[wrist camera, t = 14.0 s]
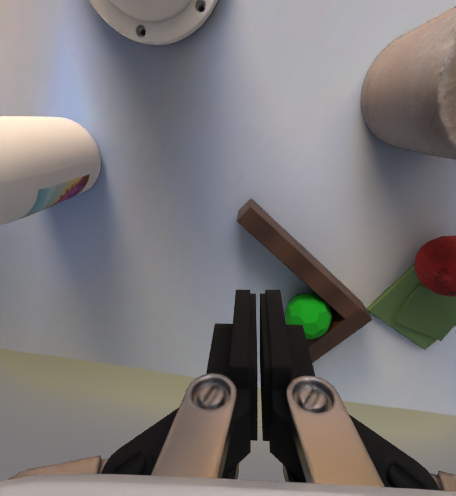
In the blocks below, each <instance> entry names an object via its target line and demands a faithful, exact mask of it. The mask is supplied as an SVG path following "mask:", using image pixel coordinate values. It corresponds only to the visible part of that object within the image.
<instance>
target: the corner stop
mask: <svg viewBox="0 0 456 496" xmlns="http://www.w3.org/2000/svg"><path fill="white" fill-rule="evenodd" d="M237 222H238V223H239V224H241V225H242V226H243V227H244V228H245V229H246V230H247V231H248V232H249V233H251V234H252V235H253V236H254V237H255V238H256V239H257V240H258V241H259V242H260V243H262V244H263V245H264V246H265V247H266V248H267V249H268V250H269V251H270V252H272V253H273V254H274V255H275V256H276V257H277V258H278V259H279V260H280V261H282V262H283V263H284V264H285V265H286V266H287V267H288V268H289V269H290V270H291V271H293V272H294V273H295V274H296V275H297V276H298V277H299V278H300V279H301V280H303V281H304V282H305V283H306V284H307V285H308V286H309V287H310V288H311V289H312V290H314V291H315V292H316V293H317V294H318V295H319V296H320V297H321V298H322V299H324V300H325V301H326V302H327V303H328V304H329V305H330V306H331V308H330V311H331V314H332V319H331V323H330V326H329V328H328V331H327V332H326V333H324V334H323V335H322V336H321V337H318V338H314V339H306V340H307V344H308V349H309V353H310V357H311V361H312V363H313V362H314V361H316V360H317V359H319V358H320V357H321V356H323V355H324V354H325V353H327V352H328V351H330V350H331V349H332V348H334V347H335V346H337V345H338V344H339V343H341V342H342V341H344V340H345V339H346V338H348V337H349V336H350V335H352V334H353V333H355V332H356V331H357V330H359V329H360V328H362V327H363V326H364V325H366V324H367V323H368V322H370V321H371V320H372V318H371V316H370V315H369V313H368V311H367V310H366V308H365V306H364V305H363V303H362V302H361V301H360V300H359V299H358V298H357V297H356V296H355V295H354V294H353V293H352V292H351V291H350V290H349V289H347V288H346V287H345V286H344V285H343V284H342V283H341V282H340V281H339V280H338V279H337V278H336V277H335V276H334V275H333V274H331V273H330V272H329V271H328V270H327V269H326V268H325V267H324V266H323V265H322V264H321V263H320V262H319V261H318V260H316V259H315V258H314V257H313V256H312V255H311V254H310V253H309V252H308V251H307V250H306V249H305V248H304V247H303V246H302V245H300V244H299V243H298V242H297V241H296V240H295V239H294V238H293V237H292V236H291V235H290V234H289V233H288V232H287V231H286V230H284V229H283V228H282V227H281V226H280V225H279V224H278V223H277V222H276V221H275V220H274V219H273V218H272V217H271V216H269V215H268V214H267V213H266V212H265V211H264V210H263V209H262V208H261V207H260V206H259V205H258V204H257V203H256V202H255V201H253V200H252V199H250V200H249V201H248V202H247V203H246V204H245V205H244V206H243V207H242V208H241V209H240V210H239V212H238V218H237Z"/></svg>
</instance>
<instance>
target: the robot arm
mask: <svg viewBox="0 0 456 496" xmlns="http://www.w3.org/2000/svg"><path fill="white" fill-rule="evenodd" d="M89 1H90V3H91V4H92V6H93V8H94V9H95V11H96V12H97V13H98V14H99V15H100V16H101V17H102V19H103V20H104V21H105V22H106V23H107V24H109V25H110V26H111V27H112V28H113V29H115V30H116V31H117V32H119V33H120V34H122V35H124V36H125V37H127V38H129V39H131V40H134V41H136V42H139V43H142V44H148V45H167V44H171V43H175V42H178V41H180V40H182V39H184V38H186V37H188V36H190V35H191V34H192V33H194V32H195V31H196V30H197V29H198V28H199V27H201V26H202V25H203V23H204V22H205V21H206V20H207V18H208V17H209V16H210V14H211V13H212V11H213V9H214V7H215V6H216V4H217V2H218V0H89ZM201 6H204V11H203V12H200V11H199V8H200V7H201ZM143 30H145V31H146V33H145V35H144V36H142V31H143ZM260 374H261V400H262V401H261V402H262V429H263V430H262V431H263V441H270V453H272V454H273V455H274V456H275V457H276V458H277V459H278V460H279V461H280V462H281V463H282V464H283V472H284V478H285V482H278V481H257V480H237V477H238V472H239V462H240V461H241V460H243V459H244V458H245V457H246V456H247V455H248V454H249V453H250V440H257V331H256V294H250V290H236V295H235V307H234V318H233V324H215V327H214V332H213V338H212V344H211V350H210V356H209V361H208V367H207V373H206V374H205V375H202V376H200V377H198V378H196V379H195V380H194V381H193V382H191V384H190V385H189V387H188V388H187V390H186V393H185V395H184V398H183V400H182V403H181V405H180V407H179V408H178V409H176V410H175V411H173V412H172V413H170V414H169V415H167V416H166V417H165V418H163V419H162V420H160V421H159V422H157V423H156V424H155V425H153V426H151V427H150V428H149V429H147V430H146V431H144V432H143V433H142V434H140V435H138V436H137V437H135V438H134V439H133V440H131V441H130V442H129V443H127V444H125V445H124V446H122V447H121V448H120V449H118V450H117V451H116V452H115V453H114V454H113V455H111V457H110V458H108V459H103V460H102V459H101V456H95V457H90V458H85V459H79V460H74V461H69V462H64V463H59V464H53V465H48V466H42V467H37V468H32V469H28V470H25V471H22V472H19V473H18V474H16V475H14V476H13V477H11V478H10V479H8V480H6V481H2V482H0V496H456V475H453V474H449V473H446V472H442V471H439V472H438V475H435V474H431V473H429V472H428V471H427V470H426V469H425V468H424V467H423V466H422V465H420V464H419V463H418V462H417V461H415V460H414V459H413V458H411V457H410V456H408V455H407V454H405V453H404V452H402V451H401V450H399V449H398V448H397V447H395V446H394V445H392V444H391V443H389V442H388V441H387V440H385V439H383V438H382V437H381V436H379V435H378V434H376V433H375V432H374V431H372V430H371V429H369V428H368V427H366V426H365V425H364V424H362V423H361V422H359V421H358V420H356V419H355V418H353V417H352V416H351V415H349V414H348V412H347V410H346V408H345V406H344V404H343V402H342V400H341V398H340V396H339V394H338V392H337V391H336V389H335V388H334V386H332V385H331V384H330V383H329V382H327V381H326V380H324V379H322V378H319V377H315V373H314V369H313V365H312V361H311V357H310V353H309V349H308V344H307V340H306V336H305V332H304V328H303V325H293V324H286V323H285V317H284V311H283V305H282V299H281V293H280V290H266V292H265V294H260Z"/></svg>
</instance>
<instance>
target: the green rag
mask: <svg viewBox="0 0 456 496" xmlns="http://www.w3.org/2000/svg"><path fill="white" fill-rule="evenodd" d="M368 311H369V312H370V313H372V314H373V315H375V316H376V317H378V318H379V319H381V320H382V321H383V322H385V323H386V324H388V325H389V326H391V327H392V328H394V329H395V330H397V331H398V332H400V333H401V334H403V335H404V336H405V337H407V338H408V339H410V340H411V341H413V342H414V343H416V344H417V345H419V346H420V347H422V348H423V349H426V348H428V347H429V346H430V345H431V344H432V343H434V342H435V341H436V340H437V339H438V340H440V341H441V340H442V339H443V338H444V337H445V336H446V335H447V333H448V332H449V331H450V330H451V329H452V328H453V326H455V325H456V296H455V297H449V296H443V295H439V294H436V293H433V292H432V291H431V290H429V289H428V288H427V287H425V286H424V285H423V284H422V283H421V282H420V281H419V279H418V278H417V275H416V271H415V265H413V266H412V267H411V268H410V269H409V270H408V271H406V272H405V273H404V274H403V275H402V276H401V277H400V278H399V279H398V280H397V281H396V282H395V283H394V284H393V285H392V286H391V287H390V288H389V289H388V290H386V291H385V292H384V293H383V294H382V295H381V296H380V297H379V298H378V299H377V300H376V301H375V302H374V303H373V304H372V305H371V306H370V307H369V308H368Z"/></svg>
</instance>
